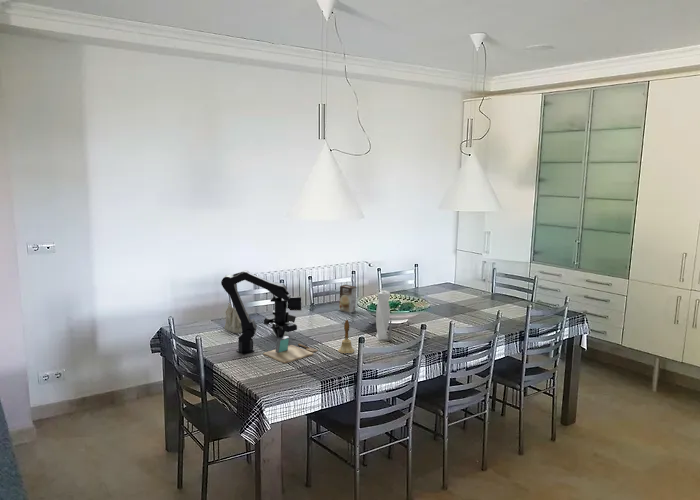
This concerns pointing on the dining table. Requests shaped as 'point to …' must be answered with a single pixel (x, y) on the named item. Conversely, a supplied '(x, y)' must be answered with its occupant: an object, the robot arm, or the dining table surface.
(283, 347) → the block
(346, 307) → the coffee box
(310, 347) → the turner
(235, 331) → the beige sack
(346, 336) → the hand bell
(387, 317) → the white bottle
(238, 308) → the robot arm
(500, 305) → the dining table surface
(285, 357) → the board
